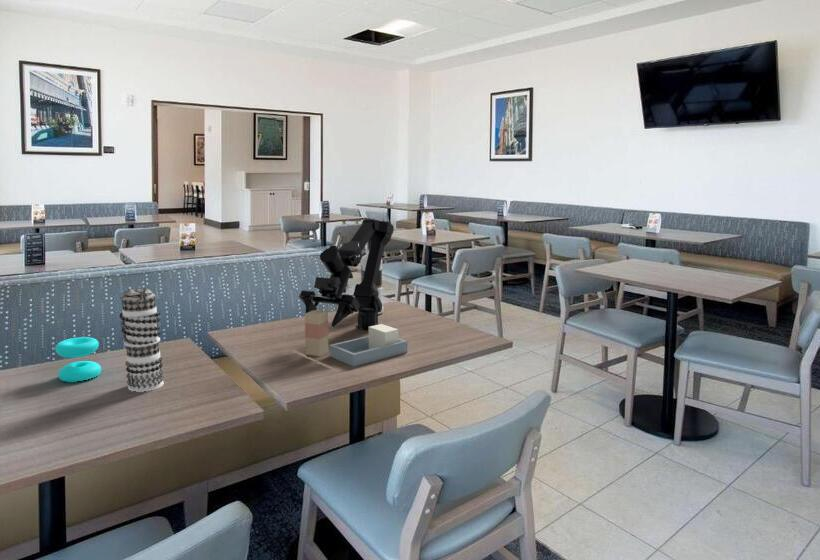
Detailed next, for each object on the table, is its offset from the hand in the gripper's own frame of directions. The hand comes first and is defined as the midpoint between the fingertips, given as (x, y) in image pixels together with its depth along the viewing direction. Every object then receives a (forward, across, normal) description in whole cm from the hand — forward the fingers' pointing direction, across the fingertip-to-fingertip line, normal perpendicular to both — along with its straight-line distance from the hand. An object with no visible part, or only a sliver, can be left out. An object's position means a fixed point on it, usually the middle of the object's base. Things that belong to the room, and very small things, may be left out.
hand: (319, 324), depth 174 cm
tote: (+4, +15, +9) cm, 18 cm away
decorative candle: (+36, -26, -22) cm, 50 cm away
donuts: (+38, -47, -24) cm, 65 cm away
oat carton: (+7, 0, +6) cm, 9 cm away
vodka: (-30, -9, +42) cm, 53 cm away
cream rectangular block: (0, +17, +12) cm, 21 cm away
